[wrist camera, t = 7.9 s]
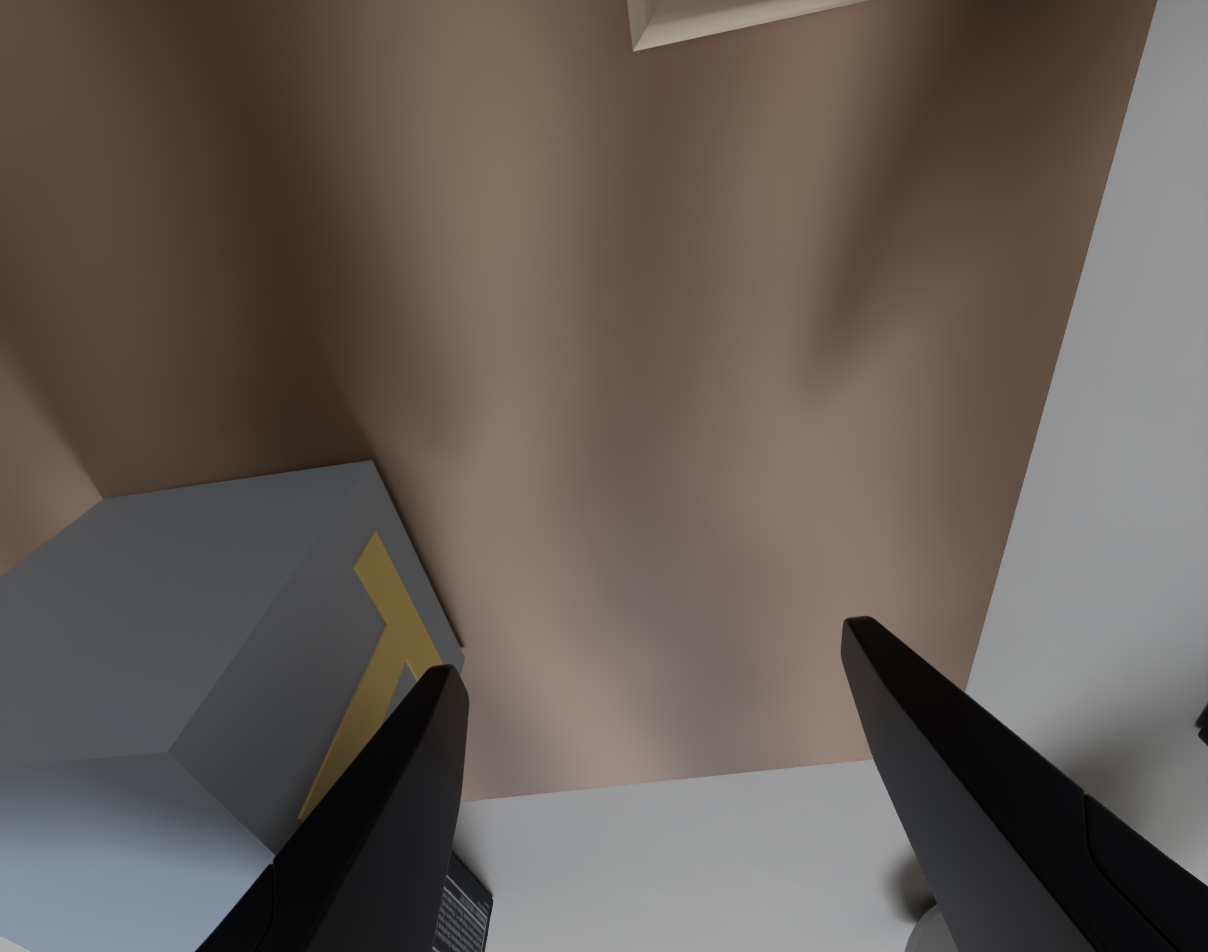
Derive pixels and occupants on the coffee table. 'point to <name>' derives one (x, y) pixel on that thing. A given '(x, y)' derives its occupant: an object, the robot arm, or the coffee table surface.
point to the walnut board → (571, 323)
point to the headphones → (931, 934)
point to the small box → (462, 912)
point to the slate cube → (194, 696)
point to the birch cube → (710, 17)
